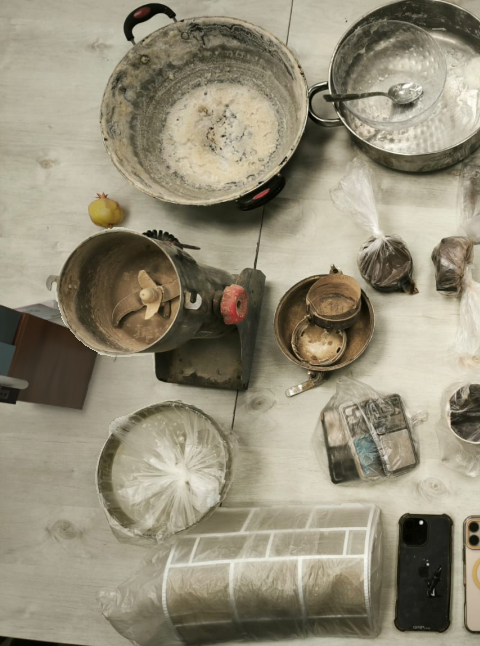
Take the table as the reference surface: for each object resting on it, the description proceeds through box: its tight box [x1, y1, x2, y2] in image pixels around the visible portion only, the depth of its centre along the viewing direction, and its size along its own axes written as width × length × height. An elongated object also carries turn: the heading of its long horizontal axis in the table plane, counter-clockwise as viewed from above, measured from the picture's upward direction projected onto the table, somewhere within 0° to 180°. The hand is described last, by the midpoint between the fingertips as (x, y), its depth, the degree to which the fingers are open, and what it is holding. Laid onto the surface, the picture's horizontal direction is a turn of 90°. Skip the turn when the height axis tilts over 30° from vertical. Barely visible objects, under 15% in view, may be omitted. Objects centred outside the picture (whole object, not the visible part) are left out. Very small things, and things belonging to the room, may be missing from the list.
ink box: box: [13, 299, 63, 320], centre depth 119 cm, size 2×11×10 cm, turn 104°
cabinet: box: [0, 304, 99, 410], centre depth 105 cm, size 10×16×34 cm, turn 173°
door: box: [0, 342, 28, 389], centre depth 93 cm, size 6×8×9 cm
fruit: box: [87, 191, 124, 230], centre depth 126 cm, size 7×7×10 cm
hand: (13, 396), depth 93 cm, fingers closed
